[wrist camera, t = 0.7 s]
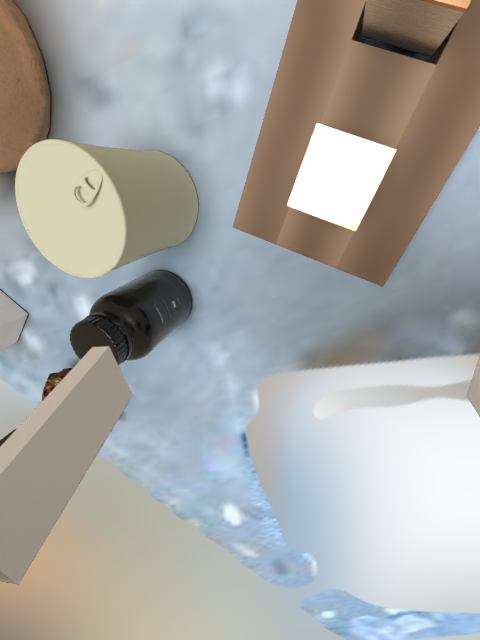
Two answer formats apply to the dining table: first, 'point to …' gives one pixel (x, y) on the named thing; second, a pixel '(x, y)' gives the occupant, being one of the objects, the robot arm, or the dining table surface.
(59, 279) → the dining table surface
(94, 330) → the supplement bottle
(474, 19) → the socket block
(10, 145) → the pottery
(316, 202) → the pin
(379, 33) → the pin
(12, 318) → the milk carton
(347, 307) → the dining table surface
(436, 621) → the dining table surface
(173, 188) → the can
